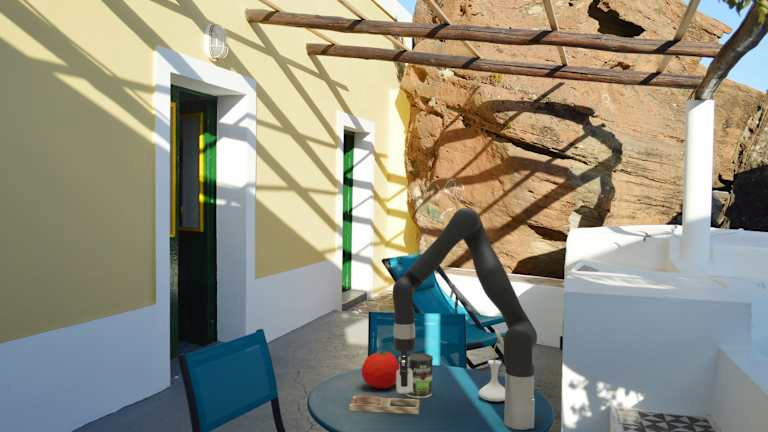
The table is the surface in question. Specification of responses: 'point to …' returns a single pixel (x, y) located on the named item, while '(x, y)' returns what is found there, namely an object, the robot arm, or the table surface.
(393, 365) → the tomato
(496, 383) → the flower in vase
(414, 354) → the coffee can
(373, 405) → the rail
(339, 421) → the table surface
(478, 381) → the table surface
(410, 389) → the eye dropper bottle
